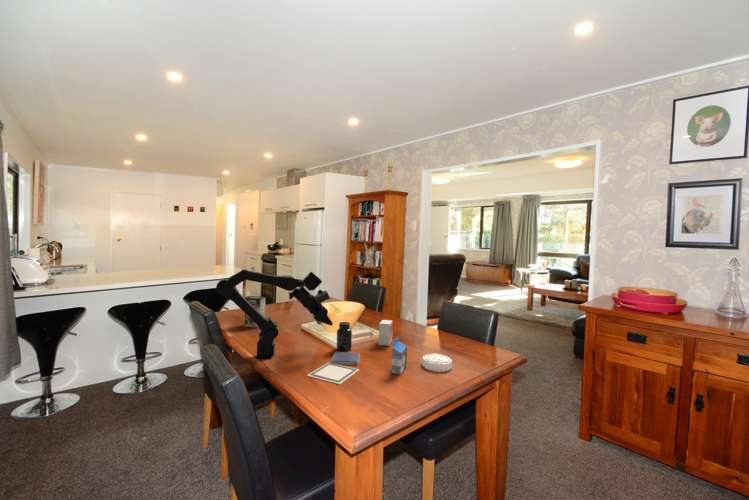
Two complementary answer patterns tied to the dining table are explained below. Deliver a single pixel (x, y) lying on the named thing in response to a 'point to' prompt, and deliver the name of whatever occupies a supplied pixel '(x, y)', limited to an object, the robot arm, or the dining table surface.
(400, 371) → the label tape cartridge
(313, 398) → the dining table surface
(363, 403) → the dining table surface
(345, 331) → the supplement bottle
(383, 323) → the small box
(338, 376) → the marked card
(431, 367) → the mooncake
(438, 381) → the dining table surface
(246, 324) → the coffee box
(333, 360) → the pad
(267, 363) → the dining table surface
